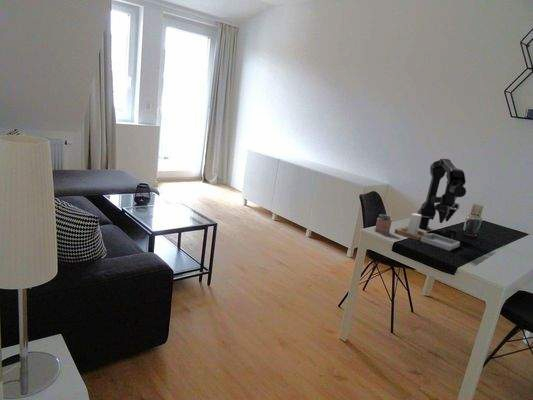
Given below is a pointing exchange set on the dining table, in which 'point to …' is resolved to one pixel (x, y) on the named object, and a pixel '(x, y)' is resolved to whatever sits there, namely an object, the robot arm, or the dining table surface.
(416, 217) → the skincare box
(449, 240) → the tray
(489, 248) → the dining table surface
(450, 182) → the robot arm
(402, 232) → the socket block
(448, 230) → the digital camera
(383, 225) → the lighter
